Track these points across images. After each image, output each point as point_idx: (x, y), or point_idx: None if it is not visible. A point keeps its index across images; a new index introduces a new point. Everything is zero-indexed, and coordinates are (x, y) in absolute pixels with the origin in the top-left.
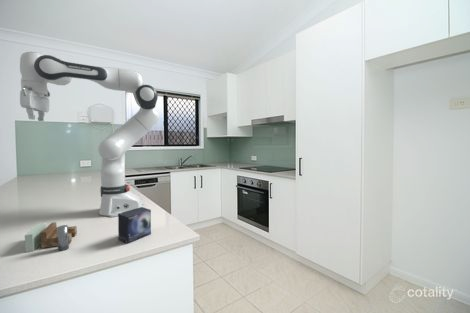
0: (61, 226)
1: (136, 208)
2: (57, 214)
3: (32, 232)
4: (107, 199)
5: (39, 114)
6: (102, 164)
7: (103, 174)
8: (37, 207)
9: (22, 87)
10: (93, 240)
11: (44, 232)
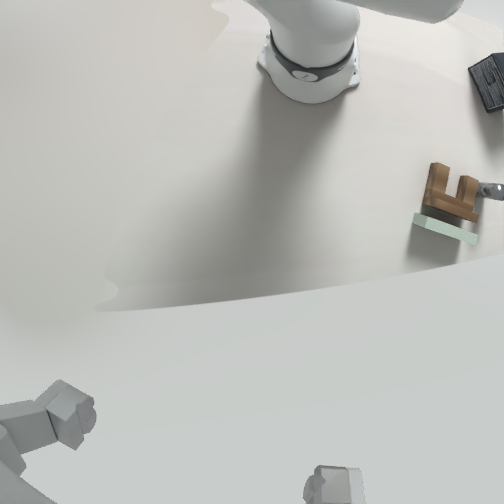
0: (499, 193)
1: (499, 65)
2: (248, 197)
3: (470, 235)
4: (346, 71)
5: (22, 448)
6: (297, 22)
7: (342, 43)
8: (146, 249)
9: None
10: (472, 144)
11: (477, 217)
